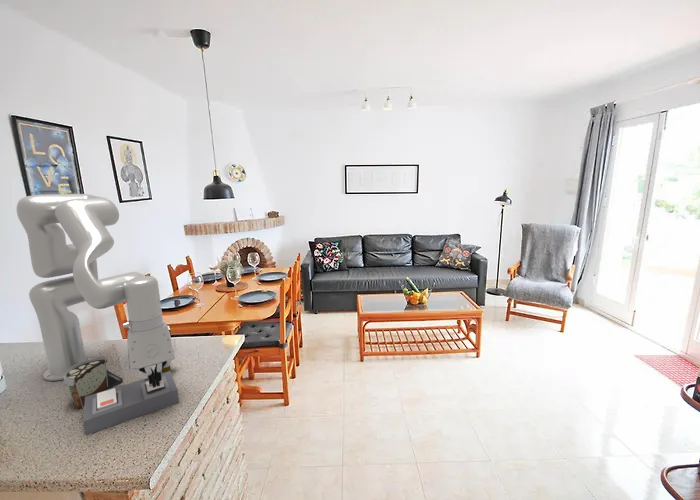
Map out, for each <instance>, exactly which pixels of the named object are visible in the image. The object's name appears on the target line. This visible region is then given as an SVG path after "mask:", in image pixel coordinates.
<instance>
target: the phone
mask: <svg viewBox="0 0 700 500" xmlns="http://www.w3.org/2000/svg"><path fill="white" fill-rule="evenodd" d="M107 379H108V387H106V388H105V389H103V391H106V390H109V389H113V388H116V387H118V386H119V385H121V384H123V382H124V381H123V378H122V377H120V376H118V375H116V374H114V373H113V372H110V371H109V370H107Z"/></svg>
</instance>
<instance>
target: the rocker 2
mask: <svg viewBox="0 0 700 500" xmlns="http://www.w3.org/2000/svg"><path fill="white" fill-rule="evenodd" d="M155 382H156V381H155ZM159 383H160V386H157V385H156V387H154V388H153V385H152V384H150V385H149V381H147V382H146V387H147V391H148V392H149V391H152V390H155V389H158V388H161V387H164V382H163V380H162V381H159Z"/></svg>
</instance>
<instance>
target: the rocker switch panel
mask: <svg viewBox="0 0 700 500" xmlns="http://www.w3.org/2000/svg"><path fill="white" fill-rule="evenodd" d="M161 377H162V380H163V382H164V387H161V388H158V389H155V390H152V391H149V392H148V391H147V387H146V382H147V381H149V379H148V377H147V378H146V377H145V378H143V379H138V380H135V381H133V382H129V383H126V384H123V385H120V386H119V385H118V386H115V387H114V388H115V389H116V398H117V405H114V406H111V407H108V408H105V409H102V410H99V411H98V408H97V393H96V394H93V395H90V396H86V397H85V404H84V408H83V420H82V421H83V426H84V432H85V436H88V435H91V434H94V433H96V432H100V431H103V430H105V429H107V428H111V427H113V426H116V425H118V424H122V423H124V422H127V421H130V420H132V419H135V418H139V417H140V416H141V417H142V416H144V415H146V414H149V413H153V412H154V411H158V410H161V409H163V408H165V407H169V406H171V405H174V404H177V403H180V398H179V391H178V390H179V389H178V387H177V384H176V381H175V379H174V376H173V373H172V371H171V370H170V371H168V372H165V373H162V372H161ZM108 389H109V388H108ZM109 390H110V389H109ZM99 393H100V392H99Z"/></svg>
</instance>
